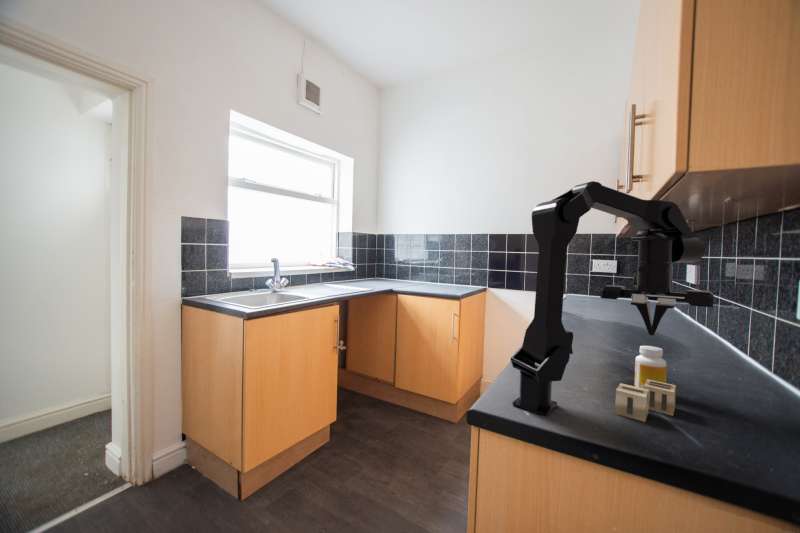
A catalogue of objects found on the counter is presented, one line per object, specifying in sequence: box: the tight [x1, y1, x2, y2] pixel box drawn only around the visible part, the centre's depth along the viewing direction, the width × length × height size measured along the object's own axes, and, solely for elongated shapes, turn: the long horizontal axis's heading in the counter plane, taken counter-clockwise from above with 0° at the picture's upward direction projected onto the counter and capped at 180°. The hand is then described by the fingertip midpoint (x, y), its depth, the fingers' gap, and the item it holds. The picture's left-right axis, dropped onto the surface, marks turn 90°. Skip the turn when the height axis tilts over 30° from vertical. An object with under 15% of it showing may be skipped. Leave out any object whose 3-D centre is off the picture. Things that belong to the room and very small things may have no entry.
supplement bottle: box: [633, 345, 667, 389], centre depth 72 cm, size 5×5×10 cm
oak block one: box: [614, 382, 649, 423], centre depth 62 cm, size 5×4×5 cm
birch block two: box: [644, 379, 677, 416], centre depth 64 cm, size 5×4×5 cm
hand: (651, 335), depth 71 cm, fingers closed
